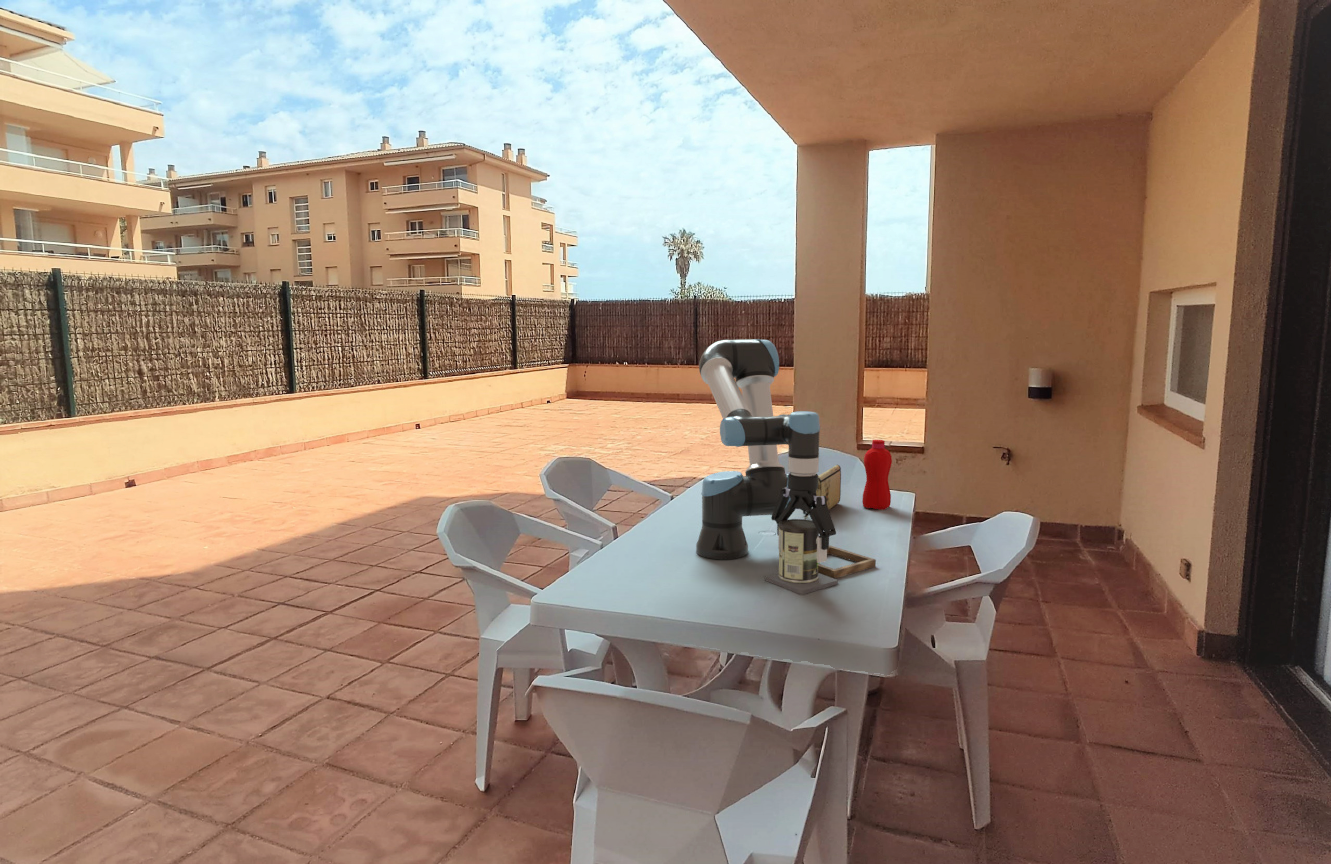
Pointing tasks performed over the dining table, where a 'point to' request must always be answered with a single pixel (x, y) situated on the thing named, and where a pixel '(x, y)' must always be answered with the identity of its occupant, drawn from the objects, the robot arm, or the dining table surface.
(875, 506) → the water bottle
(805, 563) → the coffee can
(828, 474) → the clutch purse
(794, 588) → the mat
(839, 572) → the frame
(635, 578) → the dining table surface
